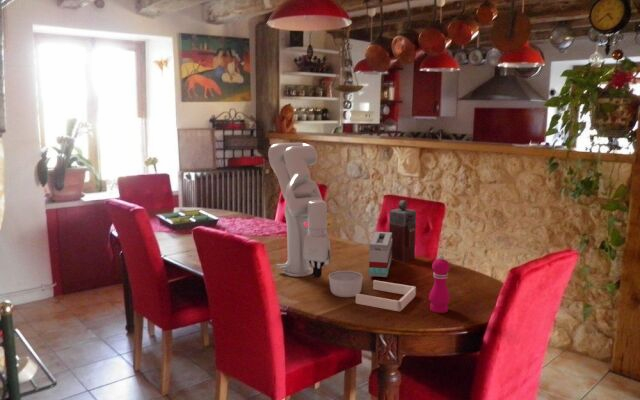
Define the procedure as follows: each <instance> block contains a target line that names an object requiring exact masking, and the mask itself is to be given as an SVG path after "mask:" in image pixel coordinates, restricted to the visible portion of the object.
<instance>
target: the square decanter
mask: <svg viewBox="0 0 640 400" xmlns="http://www.w3.org/2000/svg"><path fill="white" fill-rule="evenodd" d="M388 221H389V222H388V223H389V224H388V225H389V226H388V227H389V228H388V229H389V230H388V232H391V233H392V258H391V260H392V259H393V260H392V261H396V260H397V261H396V262H401V263H406V262H409V261H412V260H415V259H414V258H415V256H416V231H417V230H416V227H417V225H416V224H417V211H416V210H415V209H409V208H408V201H407V200H403V199H401V200H399V203H398V208H395V209H391V210H389V219H388ZM411 259H412V260H411Z"/></svg>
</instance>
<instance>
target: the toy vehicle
mask: <svg viewBox="0 0 640 400" xmlns="http://www.w3.org/2000/svg"><path fill="white" fill-rule="evenodd" d="M368 252H369V254H368V256H369V258H368V260H369V261H368V262H369V263H368V277H378V278H380V277H381V278H388V275H389V270H390V267H391V265H392V261H393V260H392V259H391V258H392V233H391V232H389V231H387V232H385V231H374V233H373V235H372V238H371V239H370V242H369V250H368Z"/></svg>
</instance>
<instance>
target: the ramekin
mask: <svg viewBox="0 0 640 400" xmlns="http://www.w3.org/2000/svg"><path fill="white" fill-rule="evenodd" d="M363 279H364V275H363V274H362V273H360V272H358V271H353V270H337V271H333V272H330V273H329V274H328V281H329V288H330V292H331V293H332V295H333V296H336V297H341V298H352V297H356V294H357V293H358V294H361V291H362V285H363Z"/></svg>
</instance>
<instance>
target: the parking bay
mask: <svg viewBox="0 0 640 400" xmlns="http://www.w3.org/2000/svg"><path fill="white" fill-rule="evenodd" d="M372 284H373V287H372V289H373V290H376V291H381V292H387V293H393V294H398V295H403V296H402V297H401V298H400V299H399V300H397V299H390V298H385V297H378V296H373V295H369V294H368V295H367V294H362V293H359V294H358V293H357V294H356V296H355V304H358V305H363V306H367V307H368V306H369V307H373V308H379V309H384V310H389V311H395V312H399V313H400V312H401V311H402V310H404V308H405V307H407V305H408V304H409V303H410V302H412V301H413V300H414V298H415V297H416V295H417V286H415V285H407V284H402V283H401V284H400V283H394V282H388V281H382V280H381V281H380V280H376V279H374V280H373V281H372Z"/></svg>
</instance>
